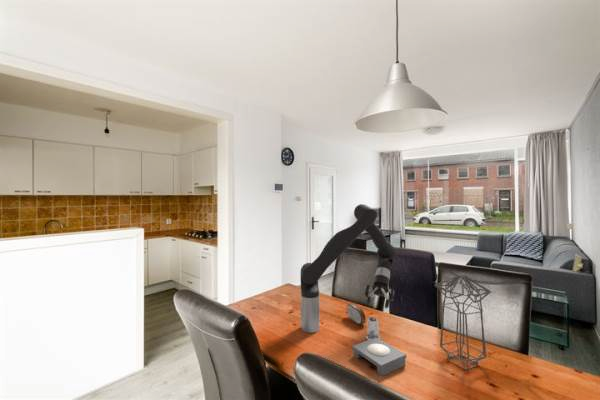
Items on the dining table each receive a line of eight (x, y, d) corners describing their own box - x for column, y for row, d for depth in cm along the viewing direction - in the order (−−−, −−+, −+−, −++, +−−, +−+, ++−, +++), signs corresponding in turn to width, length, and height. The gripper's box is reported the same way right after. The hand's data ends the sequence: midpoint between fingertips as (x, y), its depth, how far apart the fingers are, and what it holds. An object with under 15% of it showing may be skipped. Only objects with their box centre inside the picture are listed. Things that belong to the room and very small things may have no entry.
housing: (363, 337, 129) (362, 317, 129) (373, 334, 133) (372, 314, 133) (373, 343, 124) (372, 322, 124) (383, 340, 127) (383, 319, 127)
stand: (352, 355, 114) (352, 345, 114) (376, 346, 121) (376, 336, 121) (381, 376, 100) (381, 364, 100) (406, 365, 107) (406, 353, 107)
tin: (366, 326, 141) (365, 310, 141) (361, 327, 140) (360, 311, 140) (350, 315, 155) (350, 300, 155) (345, 316, 154) (345, 301, 154)
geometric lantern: (432, 356, 113) (431, 272, 115) (459, 349, 119) (458, 269, 120) (467, 378, 99) (466, 281, 100) (496, 369, 104) (494, 277, 106)
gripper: (367, 272, 147) (361, 300, 137) (394, 275, 140) (390, 305, 130) (370, 279, 152) (364, 307, 142) (396, 283, 145) (393, 312, 135)
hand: (377, 306), depth 136 cm, fingers open, 8 cm apart
